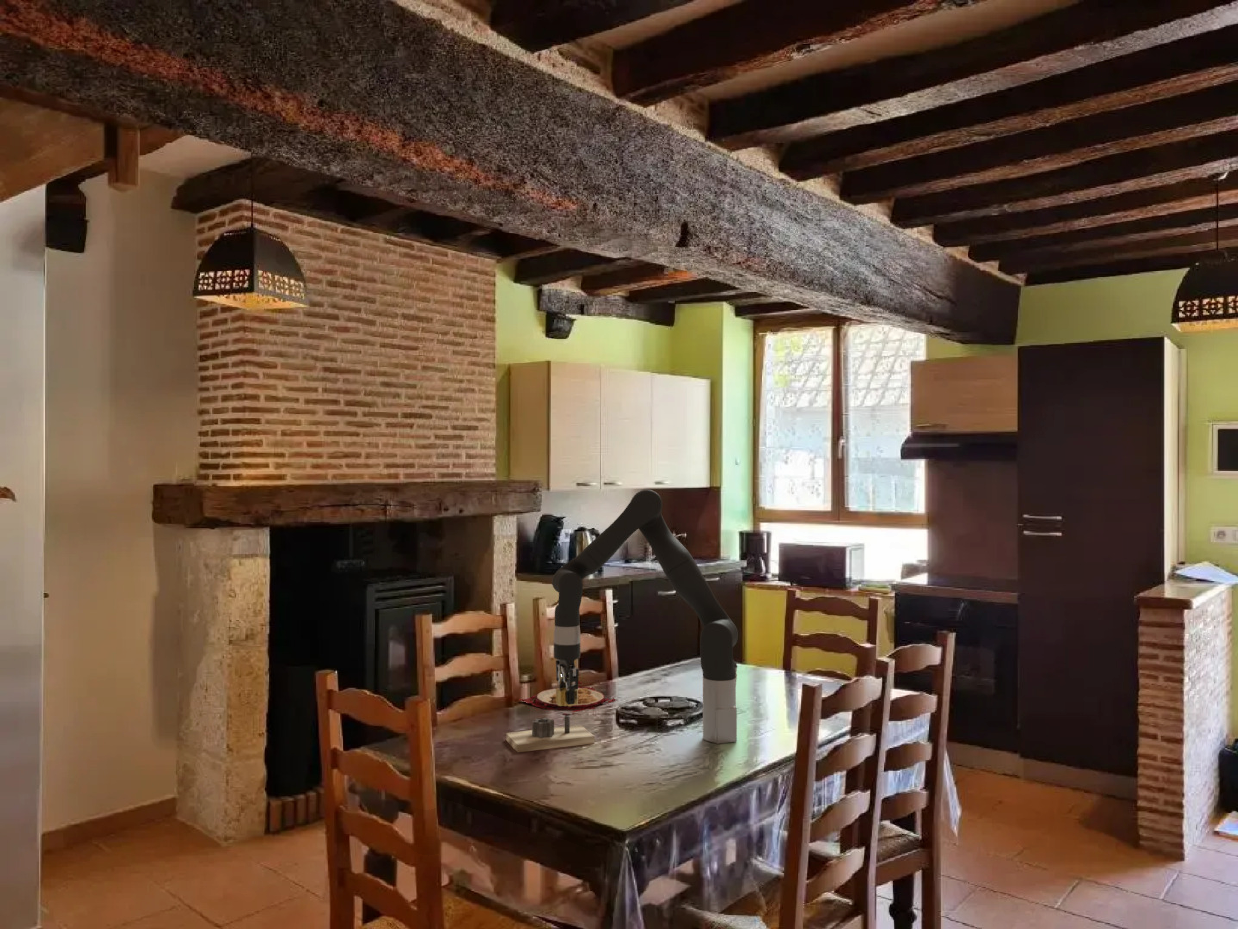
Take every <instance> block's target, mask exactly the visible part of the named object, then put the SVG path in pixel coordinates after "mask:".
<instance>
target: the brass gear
mask: <svg viewBox="0 0 1238 929" xmlns="http://www.w3.org/2000/svg"><path fill="white" fill-rule="evenodd" d="M566 691H567V690H566V687H562V688H560V689H557V688H556V704H558V706H572V705H574V704H575V705H577V704H578V690H577V689H576V690H575V703H574V704H567V703H566Z"/></svg>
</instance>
